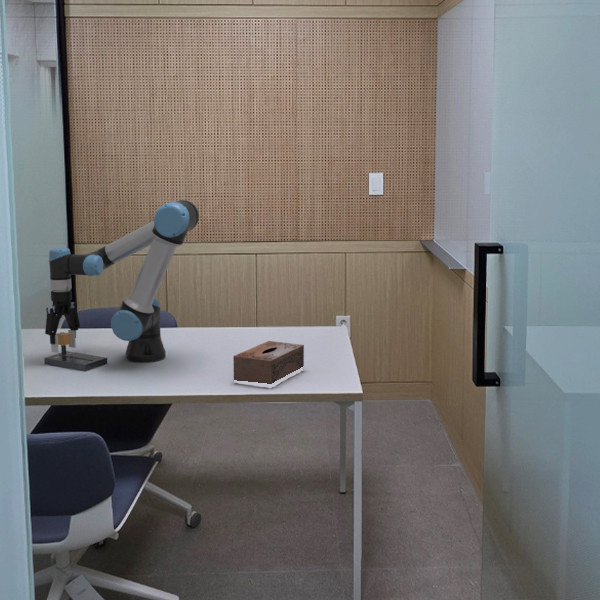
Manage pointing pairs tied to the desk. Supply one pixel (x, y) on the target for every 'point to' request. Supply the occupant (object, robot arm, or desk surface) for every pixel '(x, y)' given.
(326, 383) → the desk surface
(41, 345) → the desk surface
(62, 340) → the dimmer fader
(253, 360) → the tissue box cover
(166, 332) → the desk surface
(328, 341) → the desk surface
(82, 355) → the panel
